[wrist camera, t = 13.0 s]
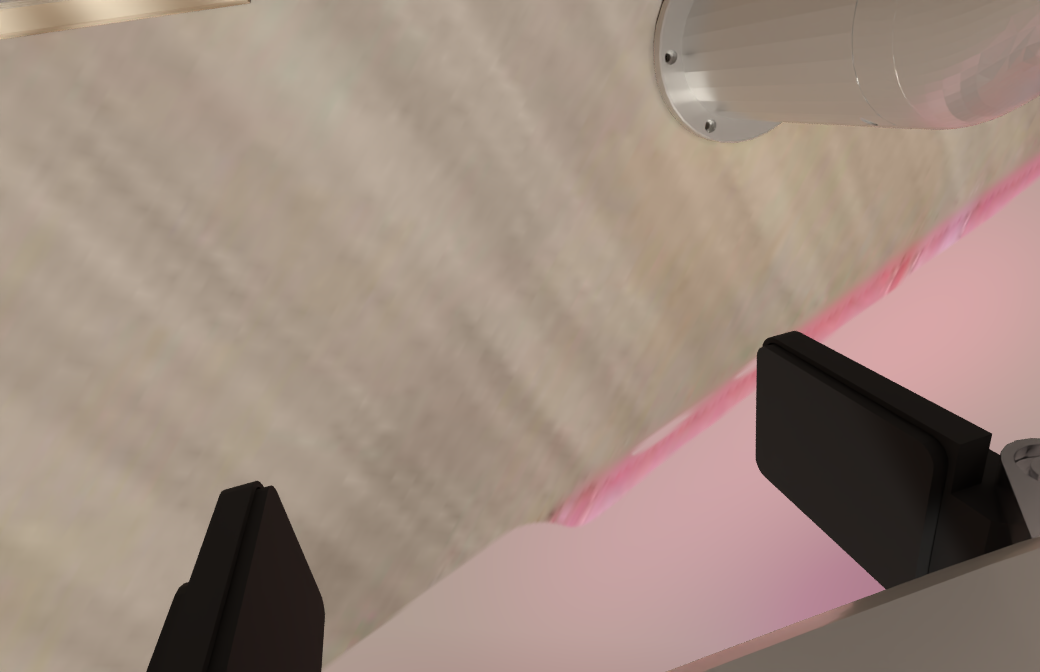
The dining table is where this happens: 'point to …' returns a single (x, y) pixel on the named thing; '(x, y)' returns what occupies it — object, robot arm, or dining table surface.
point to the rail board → (89, 13)
